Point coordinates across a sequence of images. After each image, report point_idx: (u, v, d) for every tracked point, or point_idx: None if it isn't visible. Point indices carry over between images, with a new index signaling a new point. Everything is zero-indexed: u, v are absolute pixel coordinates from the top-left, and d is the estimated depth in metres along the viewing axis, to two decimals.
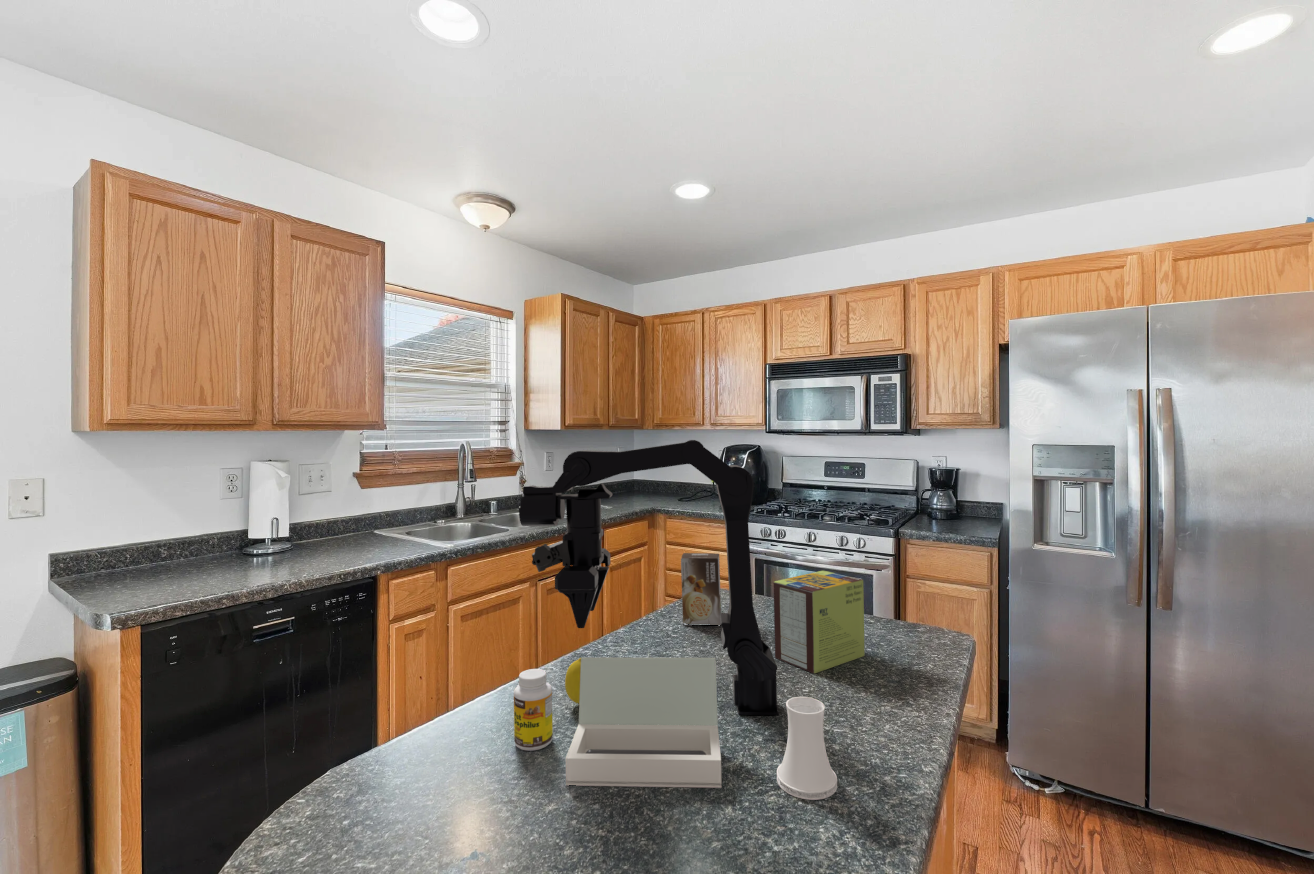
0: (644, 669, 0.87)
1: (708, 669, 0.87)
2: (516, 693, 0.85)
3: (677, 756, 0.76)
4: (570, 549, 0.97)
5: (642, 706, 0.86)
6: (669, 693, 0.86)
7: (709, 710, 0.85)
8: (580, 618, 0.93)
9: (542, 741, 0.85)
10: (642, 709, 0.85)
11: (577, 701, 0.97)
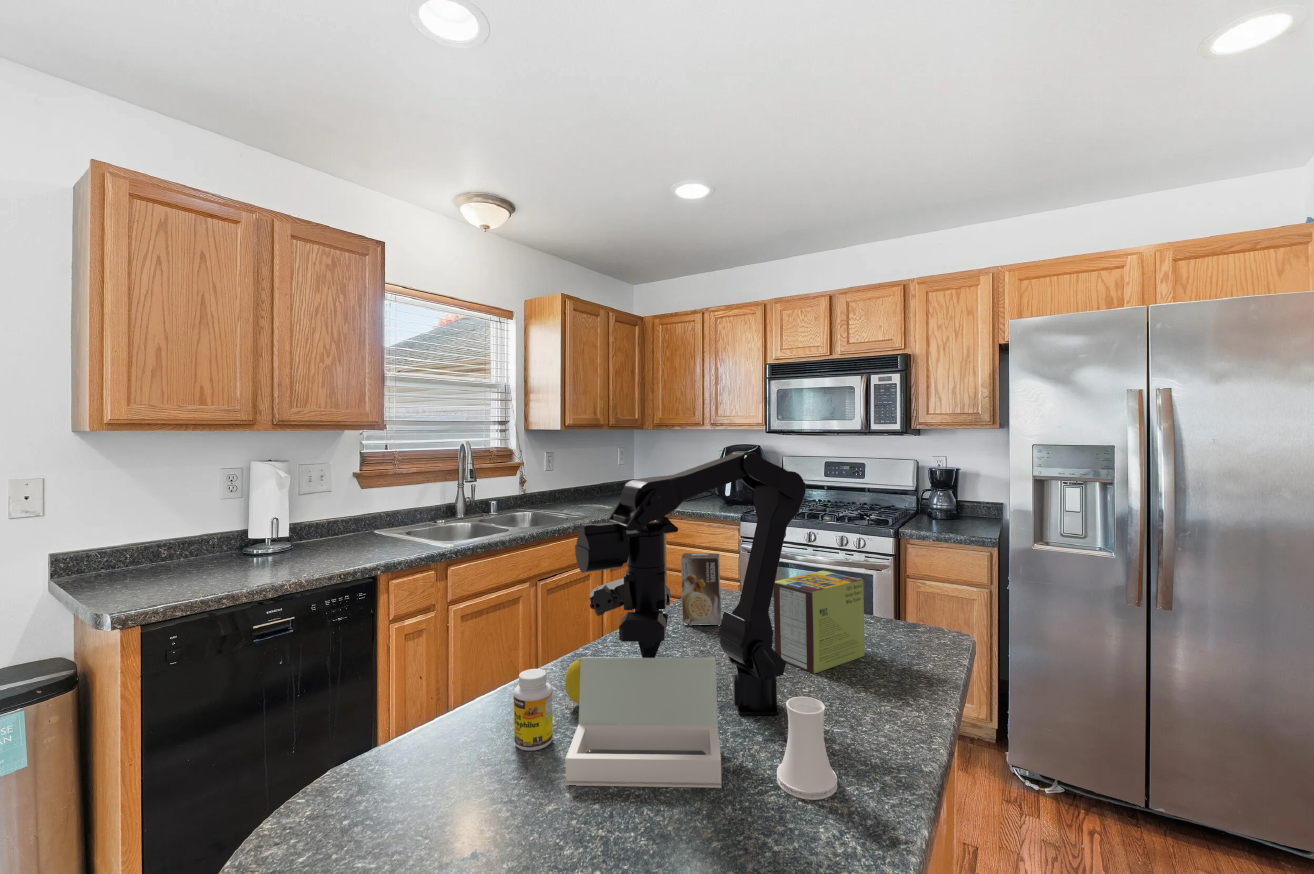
0: (644, 669, 0.87)
1: (708, 669, 0.86)
2: (516, 693, 0.85)
3: (677, 756, 0.76)
4: (632, 591, 0.87)
5: (642, 707, 0.85)
6: (669, 693, 0.86)
7: (709, 710, 0.85)
8: (648, 657, 0.88)
9: (542, 741, 0.85)
10: (642, 709, 0.85)
11: (577, 701, 0.97)
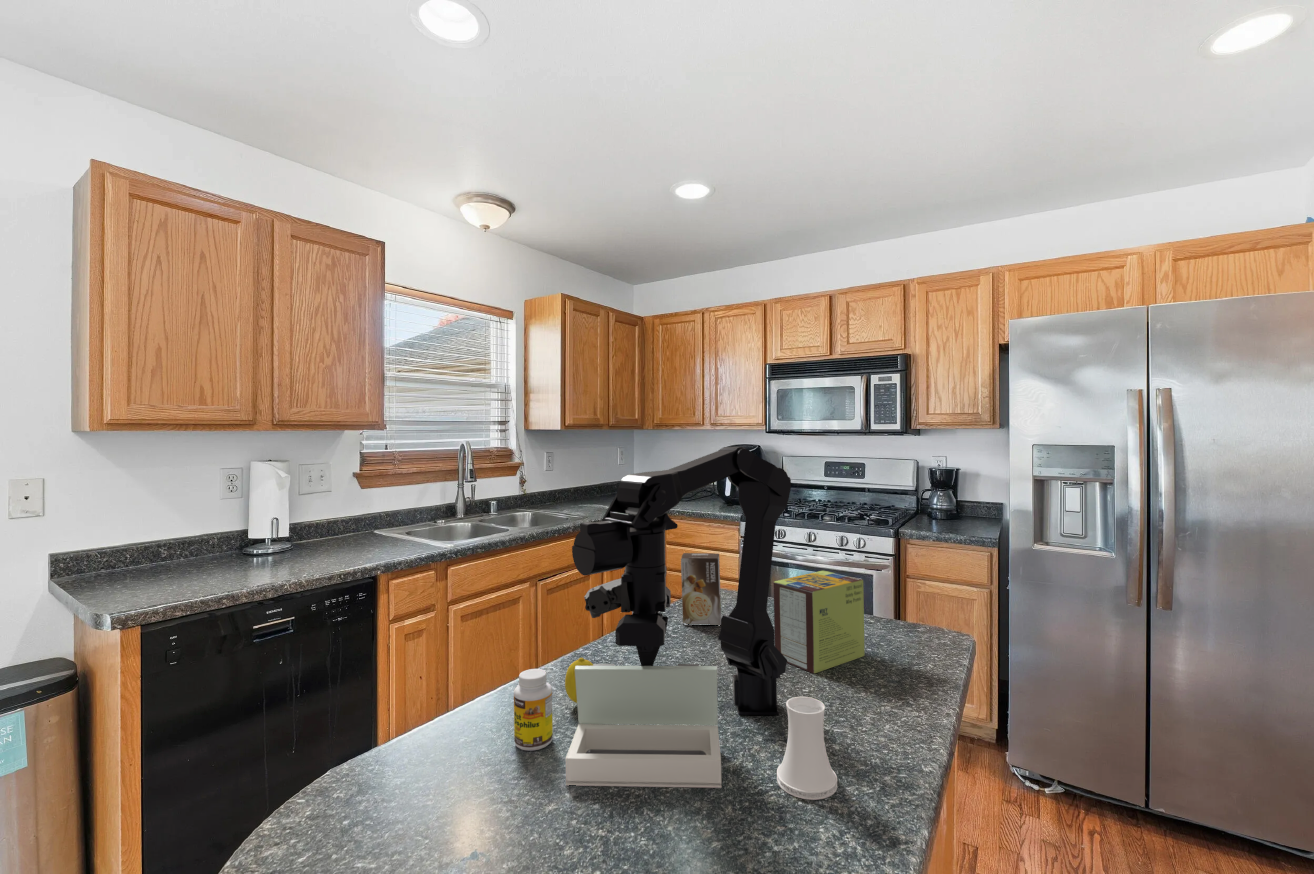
0: (642, 679, 0.83)
1: (709, 679, 0.83)
2: (516, 693, 0.85)
3: (677, 756, 0.76)
4: (630, 592, 0.82)
5: (641, 710, 0.84)
6: (668, 699, 0.84)
7: (709, 713, 0.84)
8: (646, 662, 0.83)
9: (542, 741, 0.85)
10: (641, 712, 0.84)
11: None
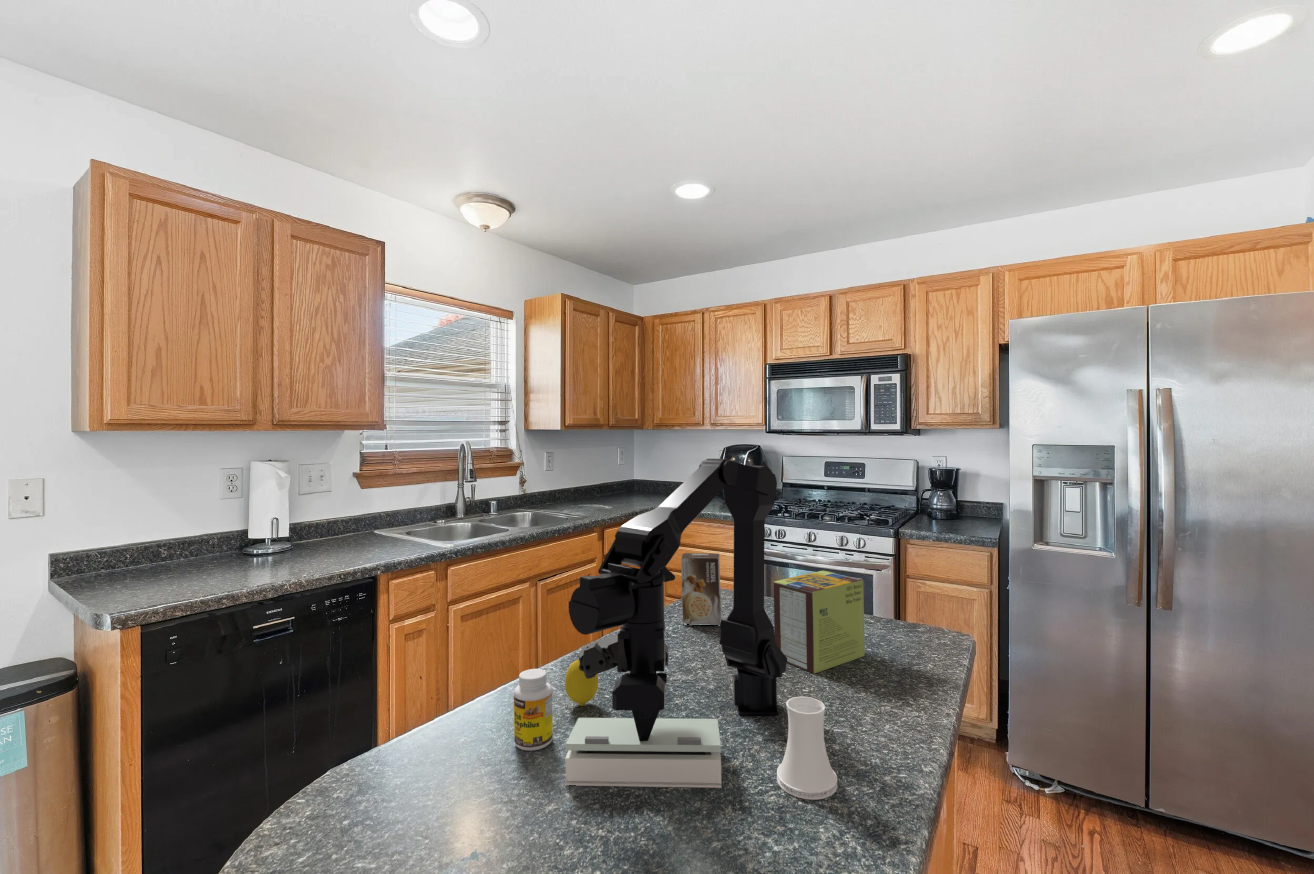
0: None
1: None
2: (516, 693, 0.85)
3: (677, 756, 0.76)
4: (627, 650, 0.77)
5: None
6: None
7: None
8: (643, 730, 0.77)
9: (542, 741, 0.85)
10: None
11: (577, 701, 0.97)
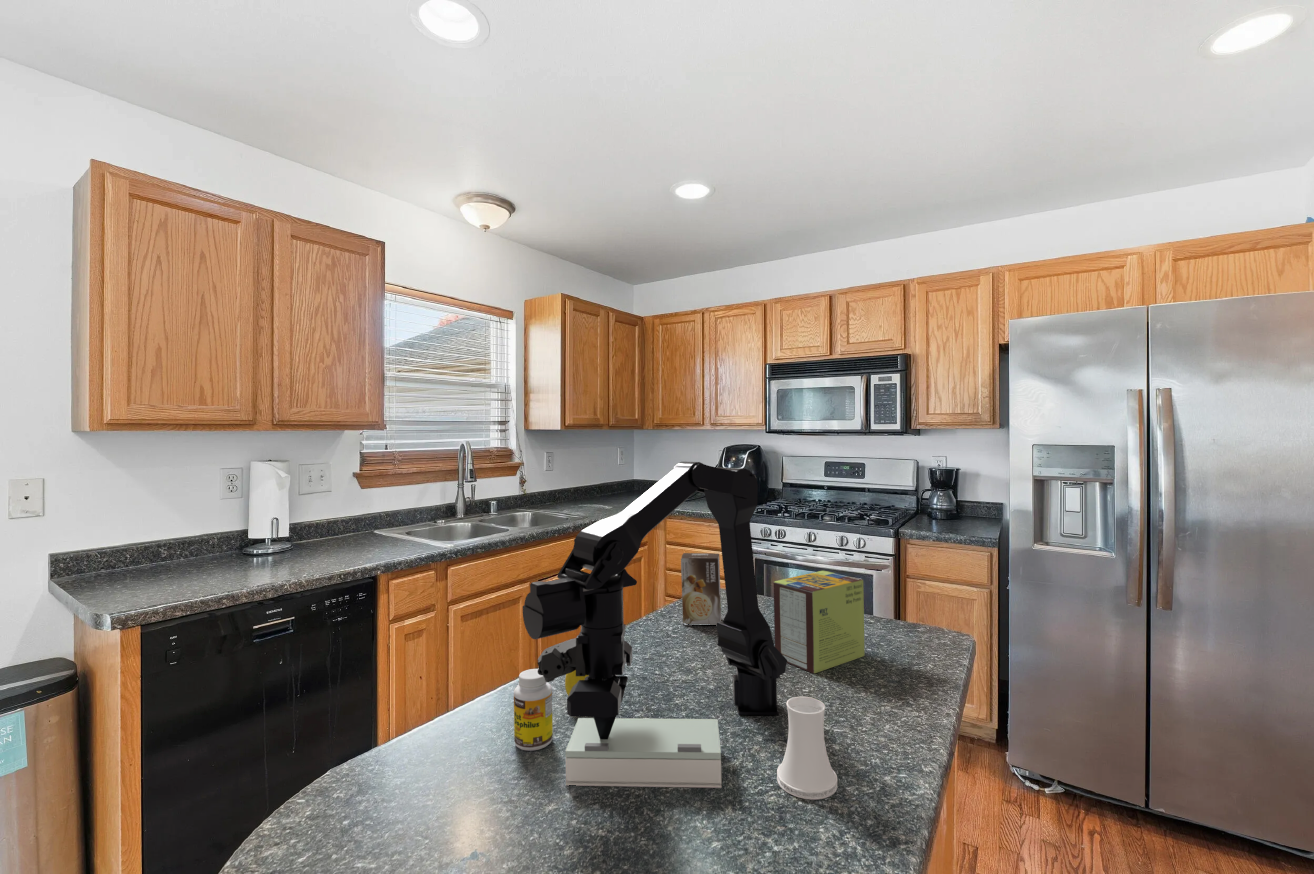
0: None
1: None
2: (516, 693, 0.85)
3: None
4: (585, 654, 0.78)
5: None
6: None
7: None
8: (603, 728, 0.79)
9: (542, 741, 0.85)
10: None
11: None
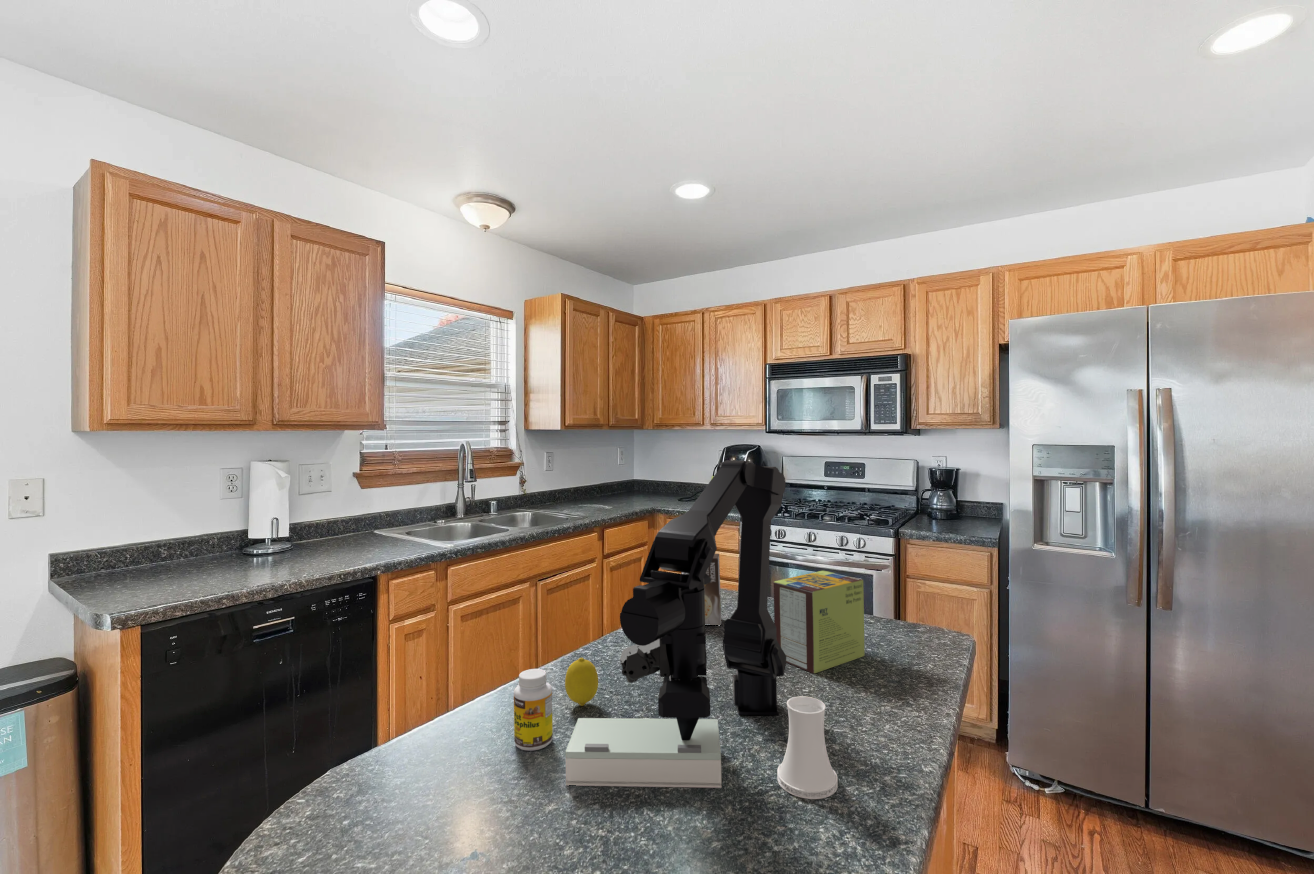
0: None
1: None
2: (516, 693, 0.85)
3: None
4: (669, 655, 0.77)
5: None
6: None
7: None
8: (686, 729, 0.78)
9: (542, 741, 0.85)
10: None
11: (577, 701, 0.97)
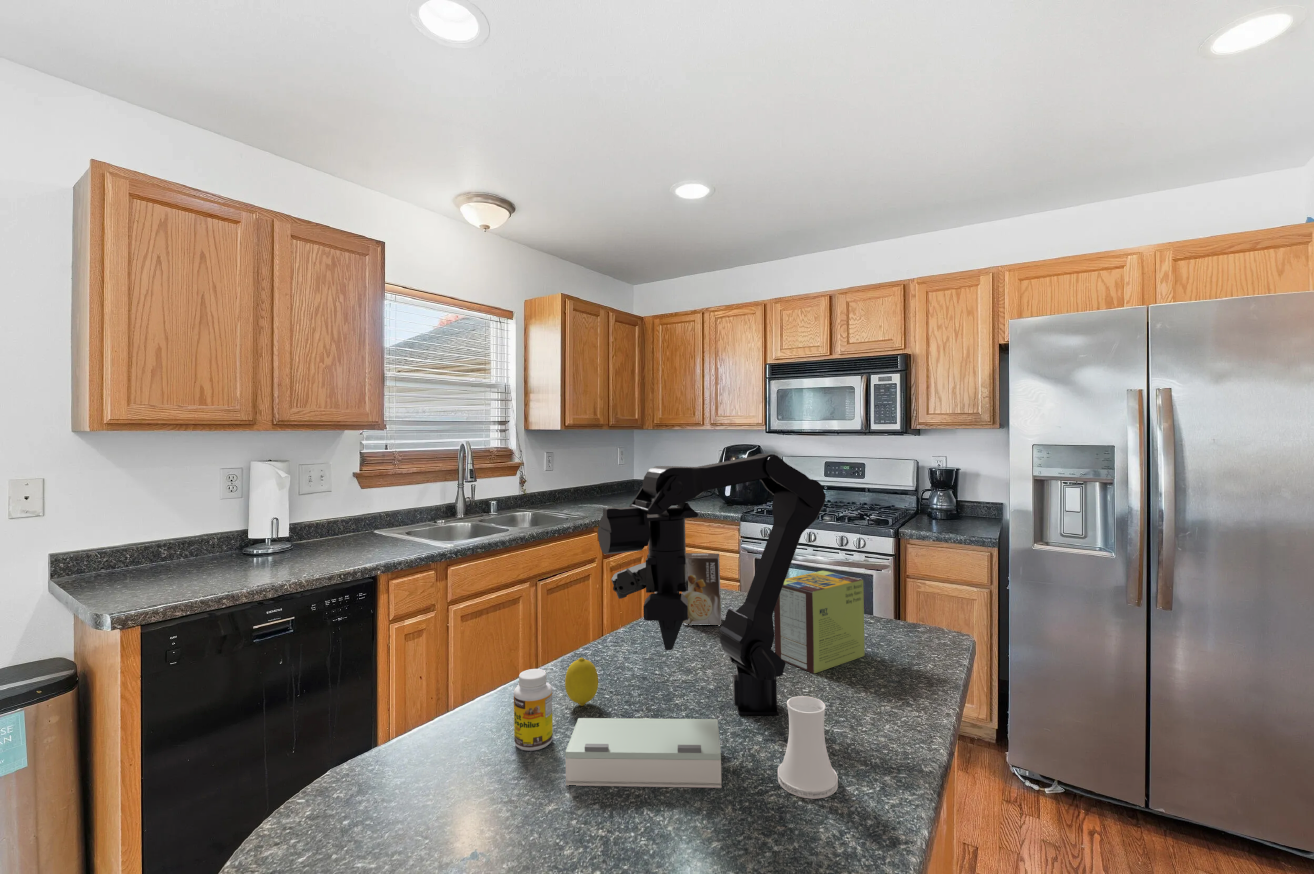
0: None
1: None
2: (516, 693, 0.85)
3: None
4: (654, 574, 0.89)
5: None
6: None
7: None
8: (669, 640, 0.90)
9: (542, 741, 0.85)
10: None
11: (577, 701, 0.97)
